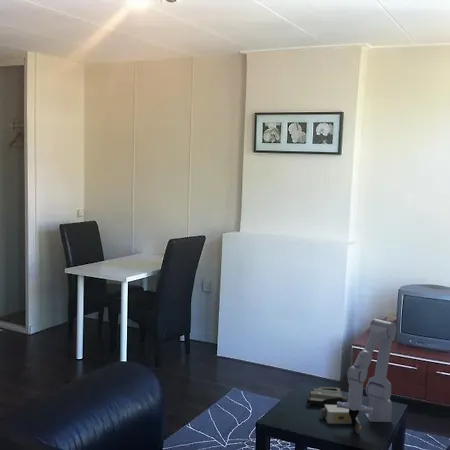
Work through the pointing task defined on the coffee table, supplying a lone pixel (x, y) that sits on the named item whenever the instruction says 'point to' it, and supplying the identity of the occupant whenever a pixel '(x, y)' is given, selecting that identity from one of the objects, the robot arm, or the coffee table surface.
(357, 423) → the side door
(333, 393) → the camcorder
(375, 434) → the coffee table surface
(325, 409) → the camera case
